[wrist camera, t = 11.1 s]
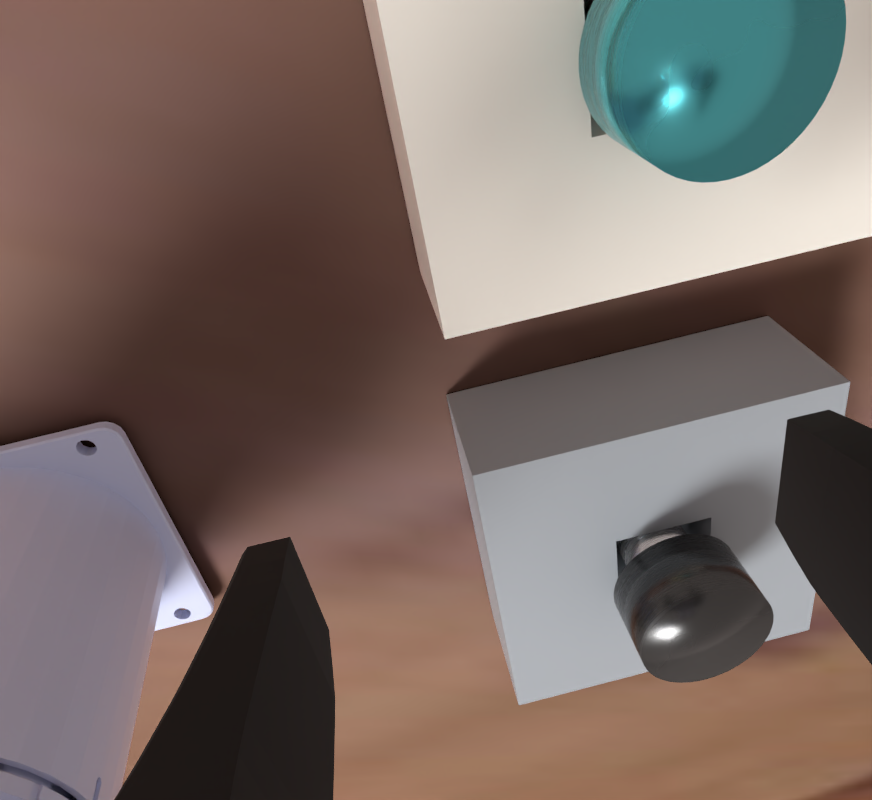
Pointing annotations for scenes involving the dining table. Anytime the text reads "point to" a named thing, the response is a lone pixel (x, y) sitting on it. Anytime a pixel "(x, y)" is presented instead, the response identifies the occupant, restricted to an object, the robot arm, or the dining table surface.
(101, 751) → the robot arm
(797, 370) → the grey block
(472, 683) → the dining table surface
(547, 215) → the cream block
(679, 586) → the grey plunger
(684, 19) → the teal round knob
